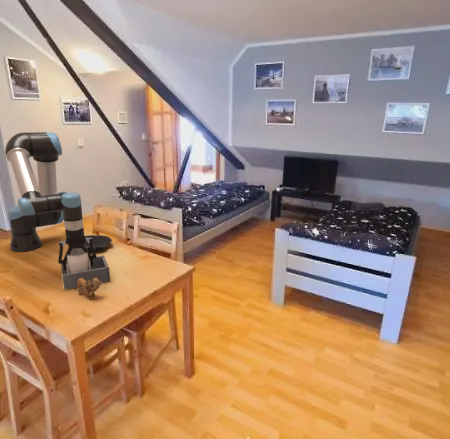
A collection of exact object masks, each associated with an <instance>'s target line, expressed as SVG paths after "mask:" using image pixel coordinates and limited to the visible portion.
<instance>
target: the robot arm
mask: <svg viewBox="0 0 450 439" xmlns="http://www.w3.org/2000/svg"><path fill="white" fill-rule="evenodd" d="M4 153H5V157H6V159H7V161H8V162H9V163H10V165H11V167H12V171H13V174H14V177H15V180H16V185H17V187H18V190H19V194H20V196H21V197H20V198H19V199H17V205H15V206H13V207H12V208H10V209H9V210H8V220H9V225H10V231H11V239H10V243H9V248H10V250H11V251H13V252H16V253H17V252H18V253H24V252H30V251H34V250H37V249H39V248H41V246H43V244H42V240H41V238H40V236H39V235H38V232H37V228H41V227H47V226H53V225H54V226H56V225H58V224H62V223H63V224H64V229H65V230H64V231H65V240H63V241H62V240H59V241H58V245H59V248H58V249H59V250H58V251H59V252H58V260H57V261H58V264H60V265H61V264H63V267H64V271H65V270H67V274H68V273H69V268H68V262H67V255H70V253H71V251H72V249H77V248H80V247H81V248H82V249H83V251H84V252H85V253H88V267H89V270H91V266H93V259H94V258H96V257H97V254H96V253H97V252H95V251H94V248H93V245H92V238H91V237H89V238H85V236H86V235H85V229H84V220H83V218H84V217H83V208H82V206H83V205H82V200H81V199H82V198H81V195H80V193H78V192H68V191H67V192H66V191H58V188H57V168H56V167H57V166H56V163H57V162H58V160H59V157H60V156H62V154H63V149H62V145H61V141H60V137H58V135H57V133H55V132H50V131H49V132H47V131H43V132H41V131H40V132H37V131H36V132H35V131H33V132H19V133H16V134H14V135H13V136H12V137H11V138H10V139H9V140H8V141H7V143H6V146H5V151H4ZM31 157H32V159H33V160H34V161H35V162H36V168H37V169H36V170H37V178H38V179H36V176H35V173H34V170H33V167H32V164H31V162H30V158H31ZM37 180H38V181H37ZM85 241H87V242H88V243H89V245H90V248H91V250H92V254H91V252H88V250H87V249H86V247H85V246H84V243H85ZM65 245H67V246H68V248H67V250H66V252H65V253H63V252H64V247H65ZM63 254H65V255H64V256H63Z"/></svg>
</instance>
